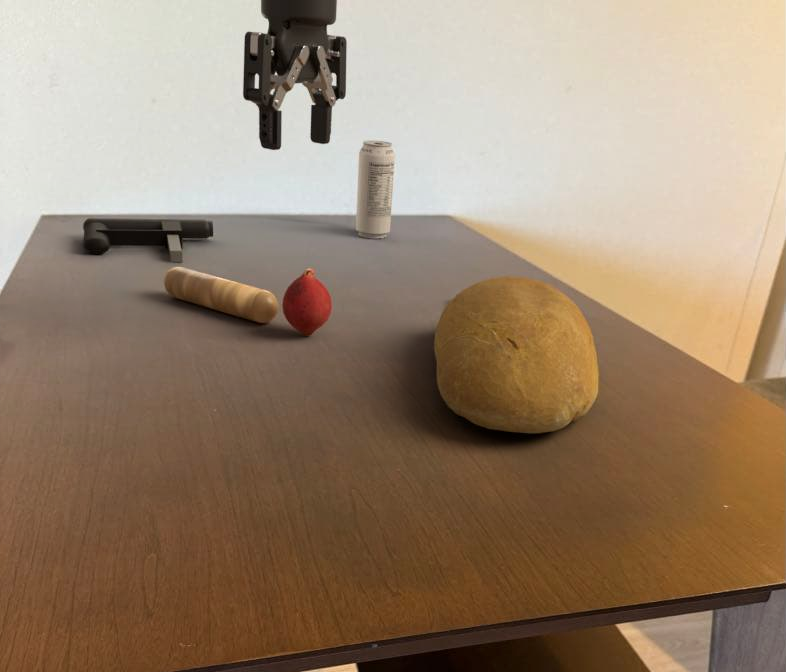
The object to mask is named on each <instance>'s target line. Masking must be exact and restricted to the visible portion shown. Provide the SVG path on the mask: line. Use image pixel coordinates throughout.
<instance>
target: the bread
mask: <svg viewBox="0 0 786 672" xmlns="http://www.w3.org/2000/svg"><path fill="white" fill-rule="evenodd" d="M457 294H458V295H457ZM457 294H456V295H455V296H454V297H453V298H452V299H451V300H450V301H449V302H448V303H447V304H446V306H445V307H444V309H443V311H442V313H441V314H440V317H439V320H438V322H437V325H436V328H435V333H434V344H433V350H434V351H433V352H434V357H435V361H436V382H437V387H438V390H439V393H440V396H441V398H442V400H443V402H444V403H445V404H446V405H447V407H448V408H449V409H450V411H452V412H454V414H456V416H457V415H458V416H459V417H463V418H465V419H466V420H468V421H469V422H471V423H472V424H474V425H476V426H479V427H481V428H482V427H483V428H485V429H489V430H494V431H502V432H510V433H523V434H543V433H548V432H552V433H553V432H555V431H559V430H562V429H564V428H565V427H567V426H568V425H569V424H570V423H572V422H575V421H578V420H580V419H582V417H584V416H585V415H586V414H587V413H588V412H589V410H591V408H592V406H593V404H594V403H595V401H596V399H597V396H598V394H599V373H600V372H599V367H598V356H597V352H596V346H595V344H594V336H593V333H592V330H591V328H590V326H589V323H588V321H587V320H586V318H585V316H584V314H583V312H582V311H581V310H580V308H579V307H578V306H577V304H576V303H575V302H574V301H573V300H572V299H571V298H569V297H568V296H567V295H566V294H565V293H563V292H562V291H560V290H558V289H557V288H555V287H554V286H553V285H551V284H548V283H546V282H543V281H541V280H537V279H533V278H529V277H524V276H513V275H511V276H510V275H507V276H497V277H491V278H488V279H487V278H486V279H485V280H481V281H478V282H476V283H474V284H472V285H470V286H468V287H467V288H464V289H462V290H461V291H460V292H458V293H457Z"/></svg>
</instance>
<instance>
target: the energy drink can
mask: <svg viewBox="0 0 786 672" xmlns="http://www.w3.org/2000/svg"><path fill="white" fill-rule="evenodd" d="M392 146H393V144H392V142H389V141H384V140H364V141H362V146H361V148H360V150H359V151H358V165H357V166H358V169H357V170H358V171H357V191H356V192H357V193H356V212H355V214H356V215H355V230H356V231H357V232H358V236H360V237H362V238H366V239H373V240H375V239H376V240H380V239H379V238H381V239H385V238H387V235H388V234H389V233H390V231H391V219H392V204H393V203H392V202H393V189H394V188H393V187H394V173H395V172H394V171H395V158H396V157H395V156H396V155H395V152H394V150H393V147H392ZM384 237H385V238H384Z"/></svg>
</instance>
